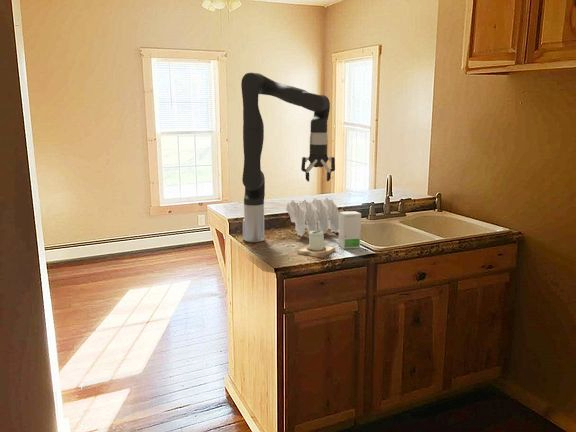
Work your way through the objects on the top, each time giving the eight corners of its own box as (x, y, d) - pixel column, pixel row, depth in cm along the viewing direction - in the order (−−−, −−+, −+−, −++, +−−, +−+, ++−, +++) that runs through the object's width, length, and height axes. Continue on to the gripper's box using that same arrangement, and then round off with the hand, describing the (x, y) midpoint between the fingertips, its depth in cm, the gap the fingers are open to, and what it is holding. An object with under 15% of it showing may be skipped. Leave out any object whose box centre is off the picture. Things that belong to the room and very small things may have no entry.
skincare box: (343, 249, 220) (344, 214, 217) (337, 245, 227) (338, 211, 223) (360, 247, 223) (361, 213, 219) (354, 244, 229) (355, 210, 226)
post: (297, 253, 214) (297, 239, 213) (309, 246, 224) (310, 233, 223) (322, 257, 208) (323, 243, 207) (334, 250, 218) (335, 236, 217)
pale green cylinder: (315, 245, 220) (315, 228, 218) (326, 248, 216) (326, 230, 214) (306, 248, 216) (306, 231, 214) (317, 251, 212) (317, 233, 210)
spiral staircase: (340, 241, 249) (294, 244, 238) (326, 220, 261) (282, 222, 251) (351, 211, 238) (303, 213, 228) (335, 190, 251) (290, 191, 241)
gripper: (333, 142, 218) (332, 179, 221) (300, 142, 217) (300, 180, 220) (336, 143, 211) (335, 182, 214) (303, 143, 209) (302, 182, 213)
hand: (317, 181), depth 217 cm, fingers open, 8 cm apart
